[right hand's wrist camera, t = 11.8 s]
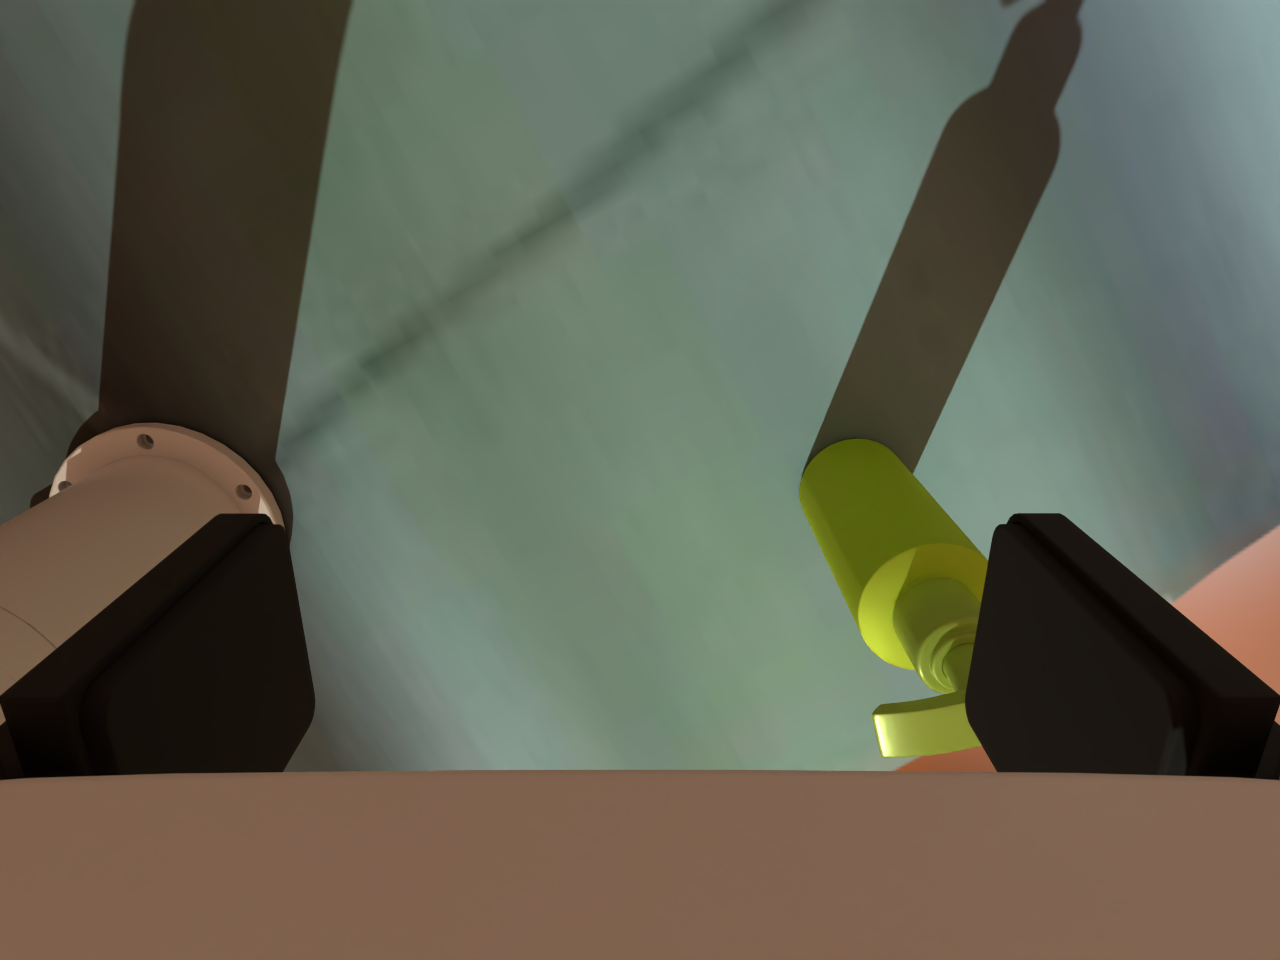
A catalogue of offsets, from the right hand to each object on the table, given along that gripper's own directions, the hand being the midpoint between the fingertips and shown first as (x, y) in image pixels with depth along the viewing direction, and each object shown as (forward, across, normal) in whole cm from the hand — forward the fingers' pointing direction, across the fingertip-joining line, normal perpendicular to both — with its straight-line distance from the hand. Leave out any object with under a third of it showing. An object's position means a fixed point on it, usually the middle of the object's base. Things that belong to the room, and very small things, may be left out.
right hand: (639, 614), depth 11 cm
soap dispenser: (+33, -11, +11) cm, 36 cm away
